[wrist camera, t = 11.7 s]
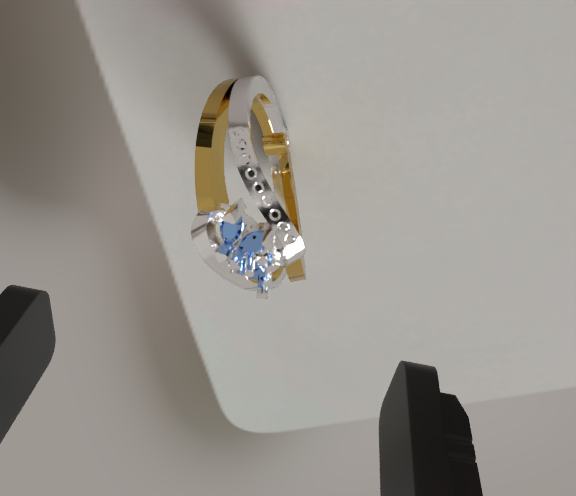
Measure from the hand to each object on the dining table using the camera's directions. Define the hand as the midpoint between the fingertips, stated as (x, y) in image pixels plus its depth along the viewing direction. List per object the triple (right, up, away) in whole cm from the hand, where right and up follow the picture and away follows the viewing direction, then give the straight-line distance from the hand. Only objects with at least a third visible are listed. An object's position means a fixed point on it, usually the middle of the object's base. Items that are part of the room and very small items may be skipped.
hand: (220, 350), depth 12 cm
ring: (+1, +7, +9) cm, 12 cm away
